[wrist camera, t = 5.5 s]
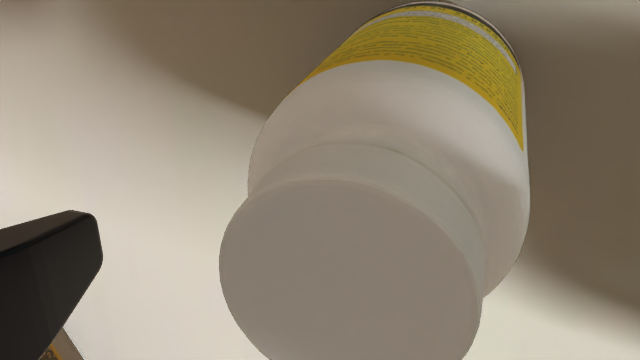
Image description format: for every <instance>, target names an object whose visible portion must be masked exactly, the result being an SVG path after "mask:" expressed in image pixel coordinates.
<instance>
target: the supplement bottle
mask: <svg viewBox="0 0 640 360" xmlns="http://www.w3.org/2000/svg"><path fill="white" fill-rule="evenodd" d="M529 214H530V185H529V168H528V152H527V130H526V109H525V89H524V81H523V75H522V72H521V68H520V65H519V62H518V60H517V57H516V55H515V53H514V51H513V49H512V48H511V46H510V44H509V43H508V42H507V40H506V39H505V38H504V36H503V35H502V34H501V33H500V32H499V31H498V30H497V29H496V28H495V27H494V26H493V25H492V24H491V23H490V22H489V21H487V20H486V19H484V18H483V17H481V16H480V15H478V14H476V13H474V12H472V11H470V10H468V9H465V8H463V7H460V6H457V5H454V4H450V3H444V2H434V1H423V2H412V3H408V4H404V5H400V6H397V7H395V8H392V9H389V10H387V11H385V12H383V13H381V14H379V15H377V16H375V17H374V18H372V19H370V20H369V21H367V22H366V23H365V24H363V25H362V26H361V27H360V28H359V29H357V30H356V31H355V32H354V33H353V34H352V35H351V36H350V37H349V38H348V39H347V40H346V41H345V42H344V43H343V44H342V45H341V46H340V47H338V48H337V49H336V50H335V51H334V52H333V53H332V54H331V55H329V56H328V57H327V58H326V59H325V60H324V61H323V62H322V63H321V64H320V65H319V66H318V67H317V68H316V69H315V70H313V71H312V72H311V73H310V74H309V75H308V76H307V77H306V78H305V79H304V80H303V81H302V82H301V83H299V84H298V85H297V86H296V87H295V88H294V89H293V90H292V91H291V92H290V93H289V94H288V95H287V96H286V97H285V98H284V99H283V101H282V102H281V103H280V104H279V105H278V107H277V108H276V109H275V110H274V112H273V113H272V114H271V116H270V117H269V118H268V120H267V121H266V123H265V125H264V127H263V128H262V130H261V132H260V134H259V136H258V138H257V141H256V144H255V147H254V149H253V153H252V156H251V160H250V166H249V176H248V198H247V199H246V200H245V201H244V202H243V204H242V205H241V206H240V207H239V209H238V210H237V211H236V213H235V214H234V216H233V217H232V219H231V221H230V222H229V224H228V226H227V228H226V231H225V233H224V237H223V240H222V244H221V249H220V255H219V272H220V282H221V286H222V291H223V294H224V297H225V300H226V303H227V305H228V308H229V310H230V312H231V314H232V316H233V317H234V319H235V321H236V323H237V324H238V326H239V327H240V328H241V330H242V331H243V332H244V334H245V335H246V336H247V338H248V339H249V340H250V341H251V342H252V344H253V345H254V346H255V347H256V348H257V349H258V350H259V351H260V352H261V353H262V354H263V355H265V356H266V357H267V358H268V359H270V360H462V359H463V357H464V356H465V355H466V354H467V352H468V350H469V348H470V347H471V345H472V343H473V340H474V338H475V335H476V333H477V330H478V327H479V323H480V317H481V310H482V301H483V298H484V297H485V296H487V295H488V294H489V293H490V292H491V291H492V290H493V289H495V288H496V287H497V286H498V284H499V283H500V282H501V281H502V280H503V279H504V277H505V276H506V275H507V273H508V272H509V271H510V269H511V268H512V266H513V265H514V263H515V261H516V260H517V257H518V255H519V253H520V251H521V248H522V245H523V242H524V239H525V236H526V232H527V228H528V224H529Z"/></svg>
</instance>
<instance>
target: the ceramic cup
mask: <svg viewBox="0 0 640 360" xmlns="http://www.w3.org/2000/svg"><path fill="white" fill-rule="evenodd" d="M39 360H83V358H82V357H81V355H80V354H79V352H78V351H77V349H76V348H75V346H74V345H73V343H72V341H71V340H70V338H69V337H68V335H67V334H66V332H65V331H64V329H63V328H62V329H61V330H60V332H59V333H58V335H57V336H56V338H55V339H54V340H53V342H52V343H51V345H50V346H49V347H48V349H47V350H46V351H45V353H44V354H43V355H42V356H41V358H40V359H39Z"/></svg>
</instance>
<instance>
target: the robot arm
mask: <svg viewBox="0 0 640 360" xmlns="http://www.w3.org/2000/svg"><path fill="white" fill-rule="evenodd" d="M102 261H103V252H102V246H101V241H100V235H99V230H98V224H97V220H96V219H95V217H94V216H93V215H92V214H90V213H85V212H79V211H74V210H68V211H64V212H60V213H57V214H53V215H50V216H46V217H42V218H39V219H35V220H32V221H28V222H25V223H21V224H18V225H14V226H10V227H7V228H3V229H0V360H39V359H40V358H41V356H42V355H43V354H44V353H45V351H46V350H47V349H48V347H49V346H50V345H51V343H52V342H53V340H54V339H55V338H56V336H57V335H58V333H59V332H60V330H61V329H62V327H63V326H64V324H65V323H66V321H67V319H68V318H69V316H70V315H71V313H72V312H73V310H74V309H75V307H76V306H77V304H78V302H79V301H80V299H81V298H82V296H83V295H84V293H85V292H86V290H87V289H88V287H89V286H90V284H91V282H92V281H93V279H94V278H95V276H96V275H97V273H98V272H99V270H100V268H101V265H102Z"/></svg>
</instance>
